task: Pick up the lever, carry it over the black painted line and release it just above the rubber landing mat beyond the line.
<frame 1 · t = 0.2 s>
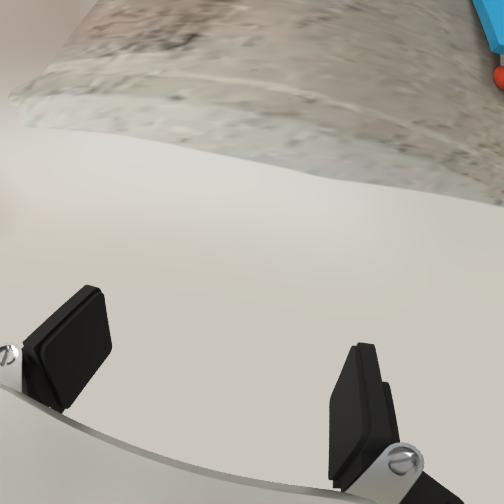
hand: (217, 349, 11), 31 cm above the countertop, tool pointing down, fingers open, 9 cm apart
lever: (490, 28, 25), on the countertop
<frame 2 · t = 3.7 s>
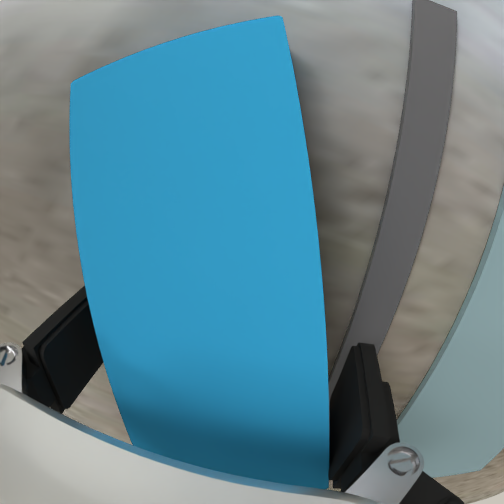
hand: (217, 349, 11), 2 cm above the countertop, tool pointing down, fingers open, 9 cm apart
lever: (238, 293, 13), on the countertop
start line: (365, 333, 12), on the countertop
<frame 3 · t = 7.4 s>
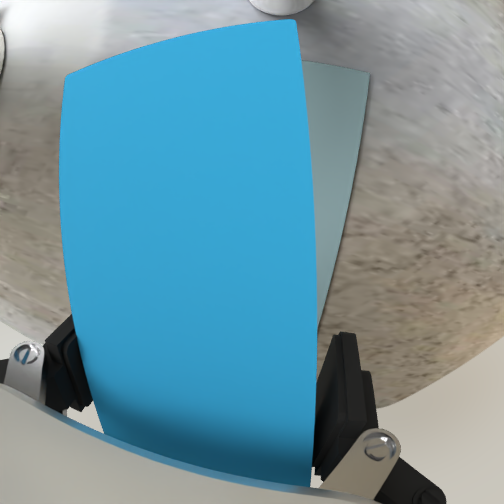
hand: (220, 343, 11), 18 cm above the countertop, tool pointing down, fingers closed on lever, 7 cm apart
lever: (227, 306, 13), point 16 cm above the countertop, touching gripper
landing mat: (275, 209, 28), on the countertop
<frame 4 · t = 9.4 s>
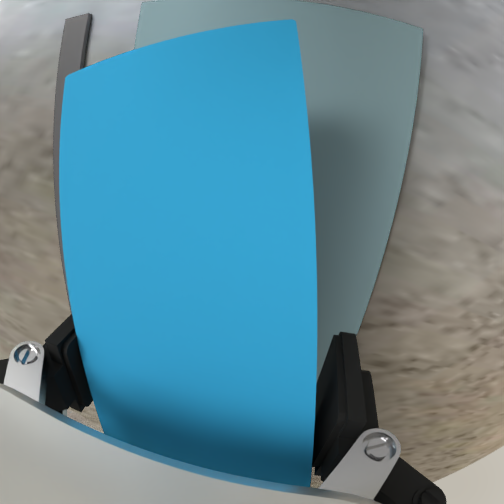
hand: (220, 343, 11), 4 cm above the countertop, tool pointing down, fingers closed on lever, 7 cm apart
lever: (227, 306, 13), point 3 cm above the countertop, touching gripper
landing mat: (242, 285, 15), on the countertop
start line: (72, 249, 16), on the countertop
when the fingers open (3 cm above the countertop, at t = 10.7 s): lever drops 1 cm, resting on landing mat.
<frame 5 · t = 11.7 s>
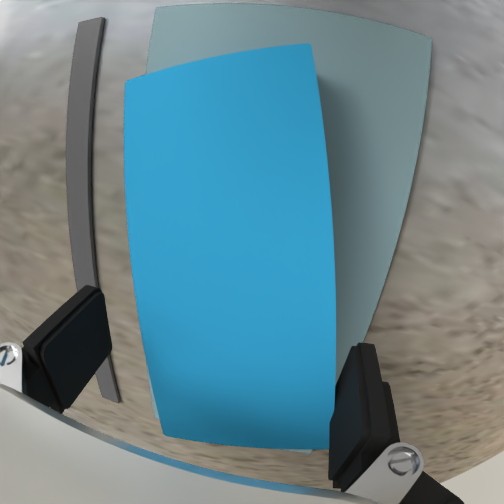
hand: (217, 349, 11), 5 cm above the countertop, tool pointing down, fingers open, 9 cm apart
lever: (256, 275, 15), resting on landing mat
landing mat: (253, 288, 16), on the countertop
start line: (84, 250, 17), on the countertop
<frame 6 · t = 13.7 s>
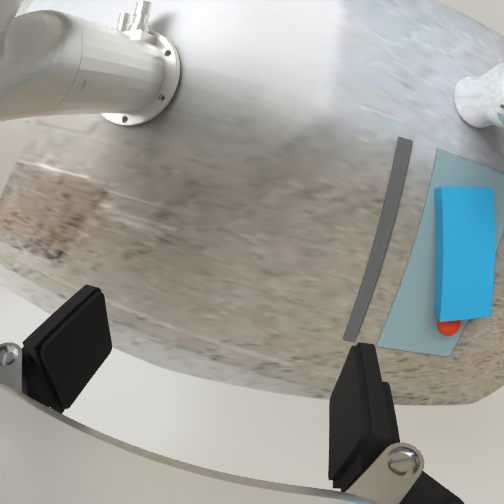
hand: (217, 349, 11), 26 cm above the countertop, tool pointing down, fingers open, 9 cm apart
lever: (453, 260, 33), resting on landing mat
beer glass: (474, 102, 26), on the countertop
landing mat: (450, 266, 34), on the countertop
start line: (378, 249, 35), on the countertop
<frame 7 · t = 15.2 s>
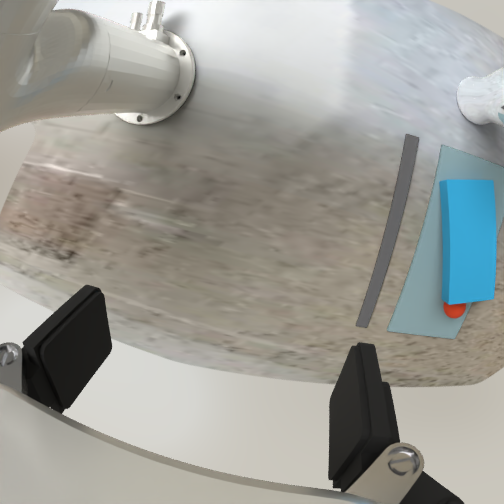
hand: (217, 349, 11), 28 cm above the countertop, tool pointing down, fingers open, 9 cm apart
lever: (457, 247, 35), resting on landing mat
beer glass: (475, 100, 28), on the countertop
landing mat: (454, 253, 36), on the countertop
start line: (388, 239, 37), on the countertop
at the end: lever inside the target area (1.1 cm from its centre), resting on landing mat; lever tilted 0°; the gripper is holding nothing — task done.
